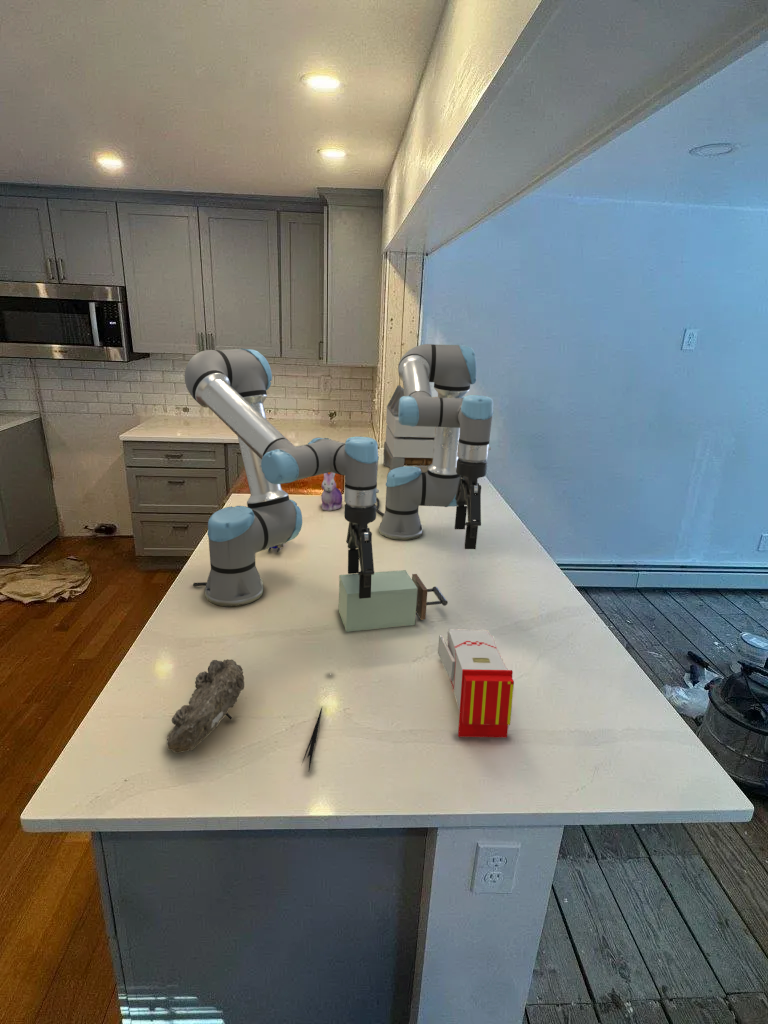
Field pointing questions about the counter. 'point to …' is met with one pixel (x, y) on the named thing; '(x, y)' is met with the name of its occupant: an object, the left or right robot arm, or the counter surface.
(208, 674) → the fossil
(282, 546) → the figurine character
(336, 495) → the figurine
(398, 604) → the sage green rectangular box
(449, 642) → the toy
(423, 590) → the drawer
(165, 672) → the counter surface
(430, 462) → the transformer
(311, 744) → the feather
